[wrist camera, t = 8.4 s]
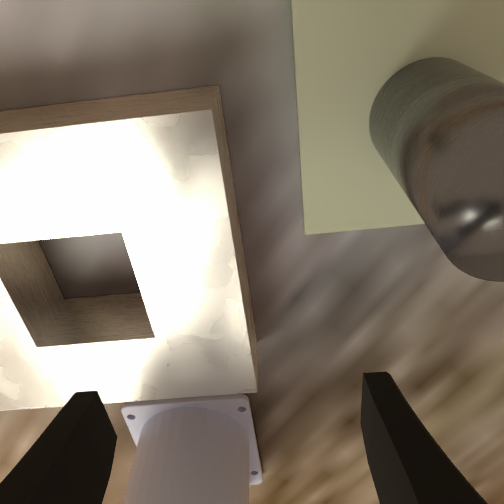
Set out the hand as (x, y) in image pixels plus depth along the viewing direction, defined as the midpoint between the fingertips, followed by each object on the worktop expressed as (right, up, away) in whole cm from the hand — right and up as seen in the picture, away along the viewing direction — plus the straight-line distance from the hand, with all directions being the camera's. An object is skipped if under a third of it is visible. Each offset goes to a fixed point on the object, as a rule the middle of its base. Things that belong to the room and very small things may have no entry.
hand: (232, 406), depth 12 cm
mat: (+7, +10, +6) cm, 14 cm away
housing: (-7, +4, +10) cm, 13 cm away
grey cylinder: (+7, +10, +5) cm, 13 cm away
